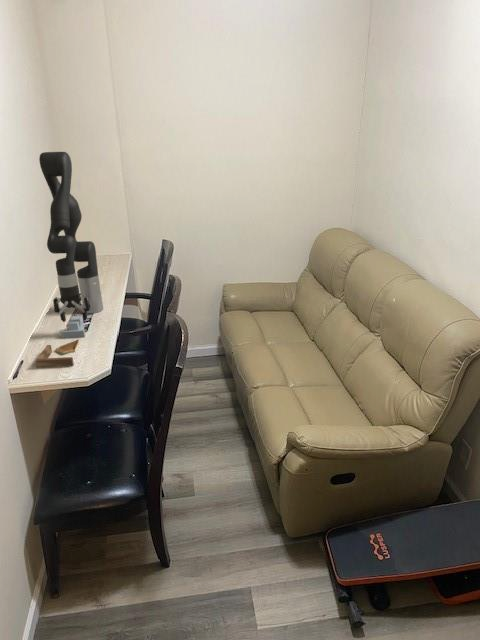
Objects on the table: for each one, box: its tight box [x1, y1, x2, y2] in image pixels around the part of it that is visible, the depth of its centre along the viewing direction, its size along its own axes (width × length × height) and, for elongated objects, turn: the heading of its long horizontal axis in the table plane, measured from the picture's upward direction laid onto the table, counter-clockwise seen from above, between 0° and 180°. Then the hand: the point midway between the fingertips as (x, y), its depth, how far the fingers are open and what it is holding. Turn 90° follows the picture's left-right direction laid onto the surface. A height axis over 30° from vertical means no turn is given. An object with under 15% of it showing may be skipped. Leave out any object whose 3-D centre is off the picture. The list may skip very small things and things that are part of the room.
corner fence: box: [35, 344, 75, 369], centre depth 178 cm, size 13×13×3 cm
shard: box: [55, 338, 80, 355], centre depth 187 cm, size 11×8×2 cm
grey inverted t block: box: [61, 315, 86, 339], centre depth 200 cm, size 10×9×6 cm
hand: (74, 320), depth 199 cm, fingers open, 8 cm apart
